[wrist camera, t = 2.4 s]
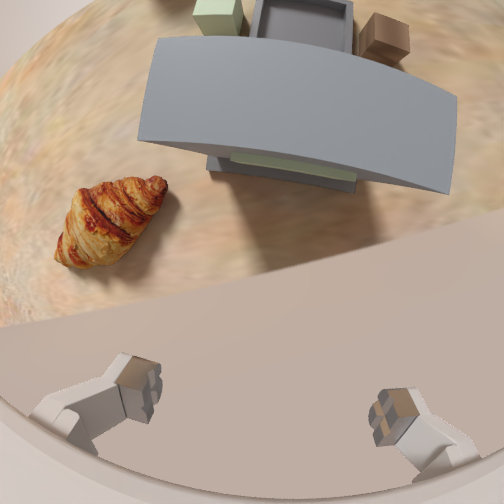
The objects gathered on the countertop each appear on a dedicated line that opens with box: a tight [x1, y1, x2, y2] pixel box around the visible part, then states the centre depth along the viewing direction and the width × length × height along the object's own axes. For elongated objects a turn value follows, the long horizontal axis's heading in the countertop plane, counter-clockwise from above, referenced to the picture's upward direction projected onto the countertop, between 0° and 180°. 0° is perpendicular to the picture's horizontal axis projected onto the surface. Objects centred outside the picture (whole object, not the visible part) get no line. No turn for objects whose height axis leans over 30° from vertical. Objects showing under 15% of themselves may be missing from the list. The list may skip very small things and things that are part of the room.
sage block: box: [193, 0, 244, 36], centre depth 21 cm, size 4×4×6 cm
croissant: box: [54, 176, 168, 269], centre depth 29 cm, size 21×10×8 cm, turn 118°
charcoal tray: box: [249, 0, 353, 55], centre depth 22 cm, size 11×11×2 cm
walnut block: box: [359, 12, 410, 67], centre depth 20 cm, size 4×4×6 cm
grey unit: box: [137, 36, 457, 195], centre depth 18 cm, size 16×8×19 cm, turn 82°
